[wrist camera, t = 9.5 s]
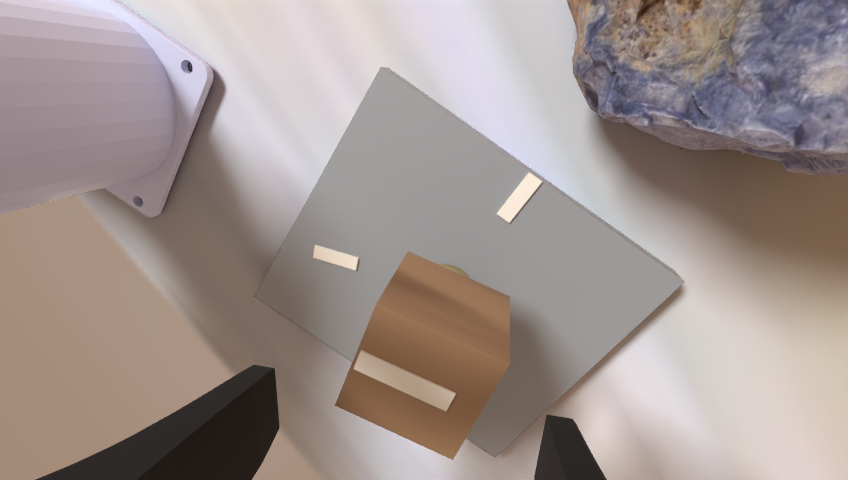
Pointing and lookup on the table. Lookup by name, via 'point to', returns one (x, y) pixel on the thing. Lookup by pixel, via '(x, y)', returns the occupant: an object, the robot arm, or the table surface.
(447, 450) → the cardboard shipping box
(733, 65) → the rock
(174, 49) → the robot arm
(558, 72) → the table surface
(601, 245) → the plate
